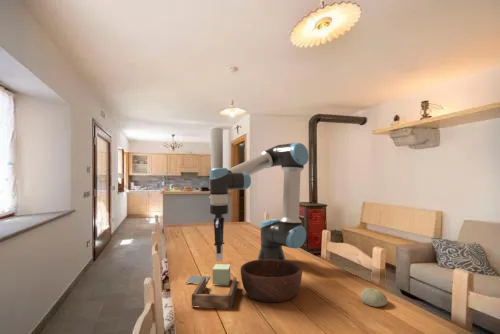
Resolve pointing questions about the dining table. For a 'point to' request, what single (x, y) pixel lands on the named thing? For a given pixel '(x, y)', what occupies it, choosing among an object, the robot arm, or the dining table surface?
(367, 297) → the sea urchin shell
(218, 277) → the sage block
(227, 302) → the walnut cubby
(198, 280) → the slate mat
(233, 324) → the dining table surface
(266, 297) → the wooden bowl
